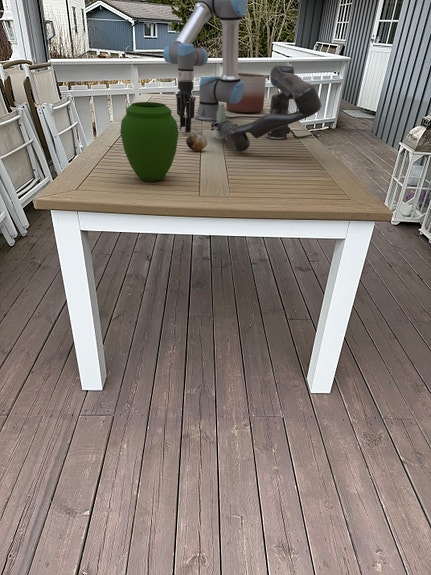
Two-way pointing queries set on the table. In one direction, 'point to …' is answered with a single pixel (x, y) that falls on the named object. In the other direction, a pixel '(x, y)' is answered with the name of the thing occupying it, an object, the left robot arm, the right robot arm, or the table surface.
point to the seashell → (196, 141)
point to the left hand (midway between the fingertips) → (185, 131)
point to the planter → (250, 94)
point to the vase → (149, 139)
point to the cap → (183, 129)
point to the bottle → (220, 119)
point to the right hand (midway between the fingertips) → (219, 123)
